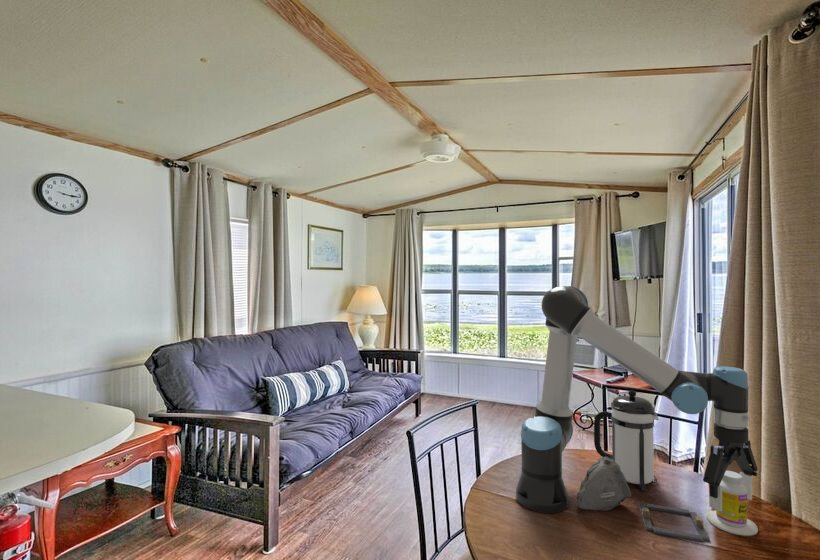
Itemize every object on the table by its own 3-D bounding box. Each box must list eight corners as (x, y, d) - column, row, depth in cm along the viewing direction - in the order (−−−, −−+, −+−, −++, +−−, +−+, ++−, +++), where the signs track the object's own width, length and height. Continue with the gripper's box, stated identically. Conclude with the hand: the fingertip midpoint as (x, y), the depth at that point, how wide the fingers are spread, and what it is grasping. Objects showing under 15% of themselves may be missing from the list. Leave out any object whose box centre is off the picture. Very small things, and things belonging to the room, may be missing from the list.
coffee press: (646, 470, 146) (645, 384, 146) (667, 494, 130) (667, 397, 130) (593, 468, 148) (593, 383, 148) (608, 490, 132) (607, 395, 132)
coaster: (713, 530, 111) (713, 528, 111) (701, 509, 121) (701, 507, 121) (765, 539, 107) (765, 537, 107) (748, 517, 117) (748, 514, 117)
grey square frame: (646, 531, 111) (646, 522, 111) (638, 504, 124) (638, 496, 124) (710, 543, 105) (710, 533, 105) (695, 514, 119) (695, 505, 119)
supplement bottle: (741, 531, 109) (741, 482, 109) (712, 519, 115) (711, 472, 115) (751, 523, 113) (751, 475, 113) (722, 512, 119) (722, 466, 119)
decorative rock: (624, 502, 125) (623, 451, 125) (637, 514, 119) (636, 461, 119) (570, 503, 125) (570, 453, 125) (580, 516, 118) (580, 463, 118)
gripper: (717, 436, 105) (717, 521, 105) (773, 422, 116) (773, 499, 116) (687, 427, 112) (687, 506, 112) (742, 414, 122) (742, 487, 122)
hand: (731, 503), depth 114 cm, fingers open, 13 cm apart
